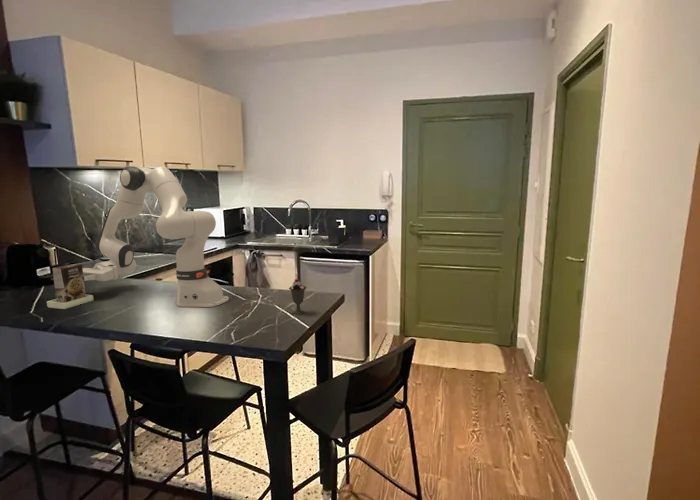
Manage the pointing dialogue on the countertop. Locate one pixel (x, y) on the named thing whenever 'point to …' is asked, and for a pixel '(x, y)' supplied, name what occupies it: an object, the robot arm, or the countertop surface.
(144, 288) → the countertop surface
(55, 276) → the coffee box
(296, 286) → the sundae
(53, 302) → the tray
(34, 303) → the countertop surface
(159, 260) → the countertop surface
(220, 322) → the countertop surface
